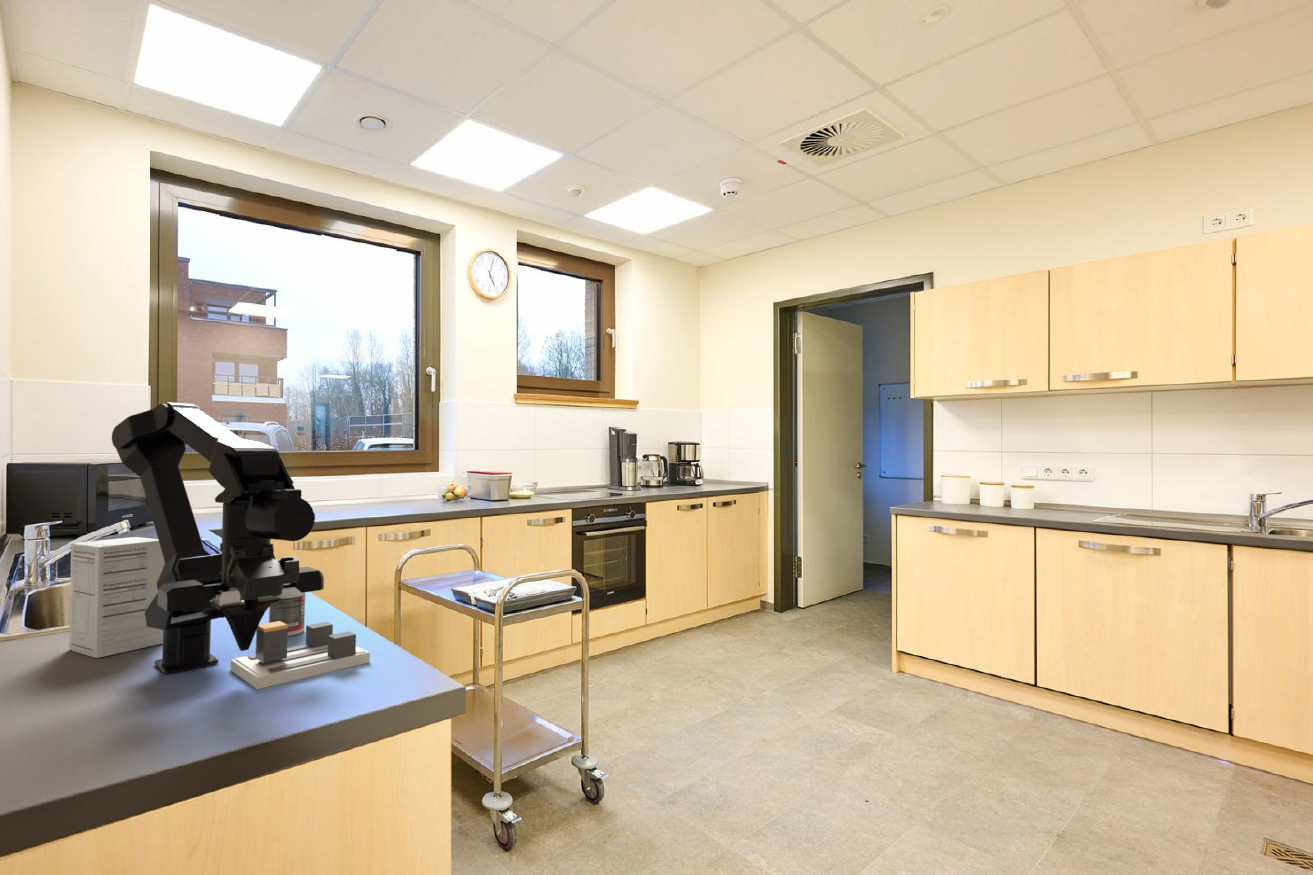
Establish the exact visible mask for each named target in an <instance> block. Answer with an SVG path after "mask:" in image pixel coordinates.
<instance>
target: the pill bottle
mask: <svg viewBox="0 0 1313 875" xmlns="http://www.w3.org/2000/svg"><path fill="white" fill-rule="evenodd" d="M277 597H280V598H281V599H280V601H279V602H275V603H273V604H272V605H271V606H270V607H269V608H268V623H271V622H277V621H281V622H283V623H285V624H287V625H288V631H287V637H290V636H297V635H300V634H301V633H303V632H304V631H305V617H306V616H305V615H306V614H305V609H306V606H305V605H306V592H304V593H301V592H300V591H299V590H297V589H296V588H295V587H291V588H284V589H283V591H282V594H281V595H279V596H277Z"/></svg>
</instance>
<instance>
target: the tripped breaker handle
mask: <svg viewBox="0 0 1313 875" xmlns="http://www.w3.org/2000/svg"><path fill="white" fill-rule="evenodd" d="M287 631H288V625H287V624H285V623H283V622H281V621H277V622H271V623H269V622H265V623H261V624H260V623H259V625H258V628H257V630H256V632H255V636H256V638H255V640H256V641H255V655H256V659H258V660H259V661H261V662H262V663H266V662H271V661H275V660H280V659H285V658H287V648H288V636H287Z"/></svg>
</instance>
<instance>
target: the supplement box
mask: <svg viewBox="0 0 1313 875" xmlns="http://www.w3.org/2000/svg"><path fill="white" fill-rule="evenodd" d="M164 565H165V561H164V557H163V553H162V550H161V547H160V543H159V540H158V538H148V537H141V536H139V537H138V536H134V537H133V536H130V537H122V538H121V537H120V538H112V539H102V540H91V541H82V542H81V541H80V542H73V543H71V544H70V596H69V597H70V598H69V622H68V623H69V627H68V628H69V630H68V650H69V651H71V650H72V652H76V653H78V654H82V655H85V656H89V657H91V658H95V659H99V658H103V657H107V656H108V657H109V656H112V655H117V654H122V653H126V652H130V651H135V650H139V649H143V648H150V647H153V646H157V645H163V630H160V629H156V628H152V627H147V624H146V618H145V611H146V609H147V608H148V606H149V605H150V603H151V602H152V600H153V599H154V597H155V596H156V594H157V593H158V588H157V581H158V579H159V576H160V574H161V572H162V570H163V567H164ZM149 646H150V647H149Z"/></svg>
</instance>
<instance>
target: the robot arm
mask: <svg viewBox="0 0 1313 875" xmlns="http://www.w3.org/2000/svg"><path fill="white" fill-rule="evenodd" d="M111 443H112V445H113V447H114V448H115V449H116V452H117V454H118V456H119V459H120V461H121V463H122V464H123V465H124V466H125V467H126V468H128V469H129V470H130V471H131V472H133V473H135V474H136V476H138V477H139V478H140V481H141V484H142V488H143V492H144V495H145V498H146V501H147V504H148V509H149V511H150V515H151V518H152V522H153V523H152V524H153V526H154V529H155V533H156V536H157V539H158V540H159V543H160V547H161V550H162V553H163V557H164V561H165V565H164V567H163V570H162V572H161V574H160V576H159V579H158V581H157V588H158V593H157V594H156V596H155V597H154V599H153V600H152V602H151V603H150V605H149V606H148V608H147V609H146V611H145V618H146V624H147V627H152V628H156V629H160V630H163V644H162V655H161V656H162V658H161V659H156V660H154V662H153V663H154V665H155V666H156V667H157V668H158V669H159V670H160V671H161V672H162V673H163V674H164V673H165V674H171V673H174V672H181V671H184V670H185V671H186V670H189V669H194V668H201V667H205V666H209V665H215V664H218V663H219V658H217V657H216V656H214V655H213V654H211V636H212V634H211V633H212V631H211V629H212V628H211V627H212V625H211V624H212V620H216V619H220V618H222V619H223V618H225V619H226V622H227V623H228V625H229V628H230V629H231V633H232V635H233V637H234V640H235V642H236V644H237V647H238V649H239V651H241V652H245V651H249V650H250V647H251V645H252V642H253V639H254V637H255V636H256V630H257V628H258V625H259V624H260V623H261V621H262V618H263V616H264V615H265V613H266V612H267V611H268V610H269V607H270V606H271V605H272V604H273V603H275V602H279V601H280V599H281V598H280V597H277V596H279V595H281V594H282V591H283V589H284V588H291V587H295V588H296V589H297V590H299V591H300V592H301V593H304V592H305V593H309V592H311V593H312V592H318V591H322V590H324V586H325V581H324V580H325V577H324V574H323V572H321V571H320V570H319V569H315V568H314V567H309V566H301V567H300V559H299V558H298V557H297V556H296V555H292V556H283V557H280V558H277V559H276V557H275V553H274V552H275V550H274V549H275V548H274V543H272V542H271V541H272V540H277V541H287V542H298V541H301V540H302V539H304V538H306V537H307V536H308V535H309V534H310V533H311V531H312V530H313V528H314V525H315V521H316V514H315V512H314V510H313V507H312V506H311V503H309V502H308V501H307V500H306V499H303V498H302V490H301V489H298V488H295V486H294V480H293V479H292V477H291V476H290V474H289V473H288V471H287V469H286V467H285V464H284V462H283V460H282V458H281V455H280V453H279V451H278V450H277V449H276V448H275V447H273V446H271V445H269V444H265V443H264V442H260V441H256V440H255V441H254V440H250V439H245V438H242V437H239V436H238V435H237V434H235V433H233V432H232V431H230V430H229V429H228V428H226V427H225V426H223V425H222V424H220V423H219V422H218V421H216V420H215V419H213V418H212V417H211V416H210V415H207V414H206V413H205V412H204V411H203V410H202V408H201V407H200V406H198V405H195V404H194V403H184V402H183V403H182V402H167V401H165V402H164V403H159V404H157V405H156V406H154V407H153V408H152V409H148V410H146V411H141V412H139V413H135V414H133V415H129V416H128V417H126V418H125V419H123V420H122V421H121V422H119V423H117V425H115V427H114V428H113V430H112V432H111ZM186 445H187V446H188V447H190V448H191V449H192V450H194V451H195V452H196V453H198V454H199V455H201V456H202V457H203V458H204V459H206V461H208V463H209V465H208V472H209V473H210V475H211V476H212V477H213V478H214V480H215V481H216V482H217V483H218V484H219V485H220V486H221V487H222V488H224V489H223V491H222V492H220V493H219V494H217V496H216V497H215V498H214V501H215V503H218V504H219V503H220V504H222V525H221V526H222V528H221V542H220V543H219V551H220V552H221V553H217V554H211V553H210V552H208V551H207V550H205V547H204V544H203V541H202V538H201V534H200V531H199V527H198V524H197V522H196V521H197V520H196V518H195V515H194V511H193V508H192V505H191V503H190V499H189V495H188V493H187V489H186V486H185V483H184V480H183V476H182V473H181V470H180V464H181V462H182V459H183V457H184V455H185V453H186V450H187V447H186ZM242 599H243V601H241V600H242Z"/></svg>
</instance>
